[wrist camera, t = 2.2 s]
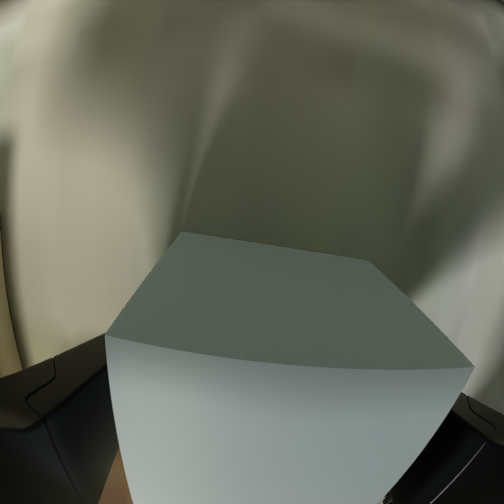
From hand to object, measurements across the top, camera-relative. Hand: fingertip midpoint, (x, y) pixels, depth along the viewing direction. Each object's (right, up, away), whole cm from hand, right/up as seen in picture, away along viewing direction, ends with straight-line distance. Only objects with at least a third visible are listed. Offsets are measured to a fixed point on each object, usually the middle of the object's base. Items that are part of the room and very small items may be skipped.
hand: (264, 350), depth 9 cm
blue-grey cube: (0, 0, +1) cm, 1 cm away
